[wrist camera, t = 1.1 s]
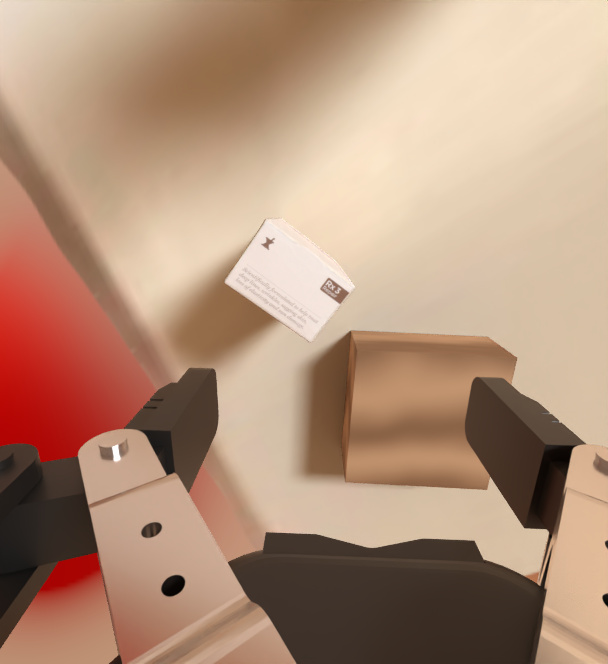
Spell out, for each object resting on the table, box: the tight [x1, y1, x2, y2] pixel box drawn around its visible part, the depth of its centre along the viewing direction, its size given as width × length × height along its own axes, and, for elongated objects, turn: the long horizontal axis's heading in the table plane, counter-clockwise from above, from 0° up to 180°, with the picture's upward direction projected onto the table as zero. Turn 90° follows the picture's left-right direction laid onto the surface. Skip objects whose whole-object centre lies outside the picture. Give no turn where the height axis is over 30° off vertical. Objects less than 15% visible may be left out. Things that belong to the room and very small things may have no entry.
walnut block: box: [342, 331, 517, 490], centre depth 32 cm, size 12×12×5 cm
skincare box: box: [224, 218, 355, 343], centre depth 25 cm, size 6×4×12 cm
